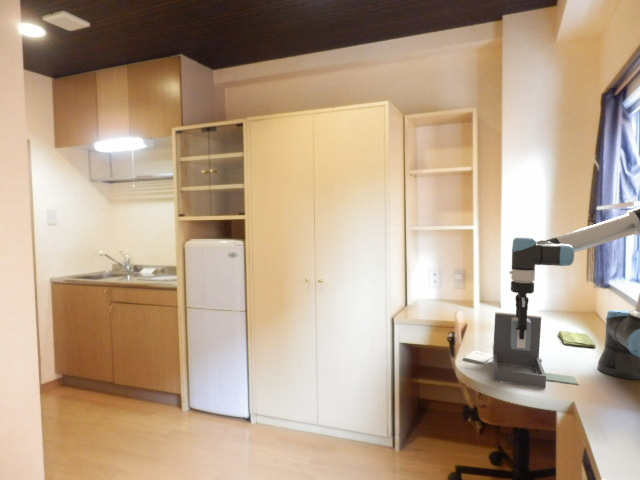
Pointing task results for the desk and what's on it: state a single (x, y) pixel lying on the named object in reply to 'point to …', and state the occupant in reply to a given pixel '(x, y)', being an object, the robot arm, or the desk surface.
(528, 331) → the block
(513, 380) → the case
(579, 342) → the washcloth
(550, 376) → the mat
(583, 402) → the desk surface
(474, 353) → the external hard drive
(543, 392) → the desk surface
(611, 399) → the desk surface
